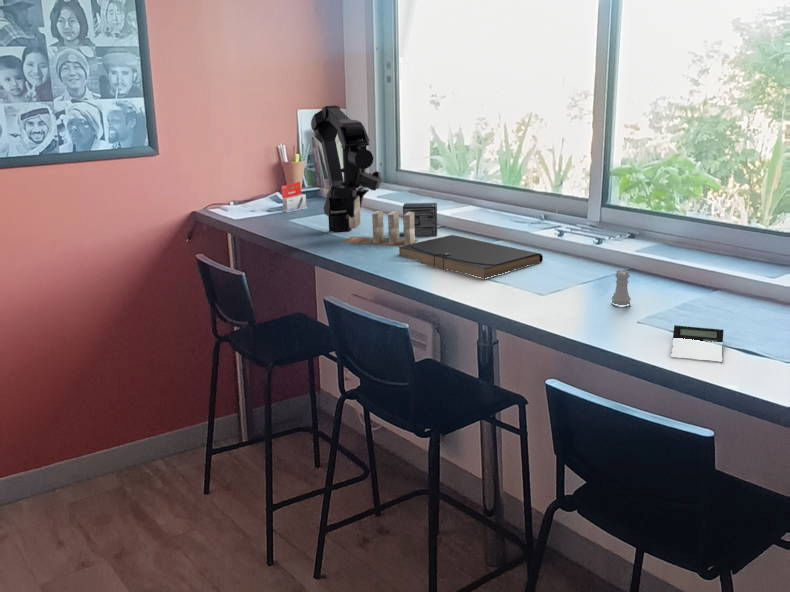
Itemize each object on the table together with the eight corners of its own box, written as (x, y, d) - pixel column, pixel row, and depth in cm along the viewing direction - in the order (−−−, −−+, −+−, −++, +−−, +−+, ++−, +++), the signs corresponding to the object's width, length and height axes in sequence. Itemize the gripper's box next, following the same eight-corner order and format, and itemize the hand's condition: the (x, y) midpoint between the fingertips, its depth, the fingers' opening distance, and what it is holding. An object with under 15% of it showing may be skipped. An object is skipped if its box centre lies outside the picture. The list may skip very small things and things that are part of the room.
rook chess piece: (627, 308, 185) (629, 275, 182) (608, 306, 187) (610, 272, 185) (633, 303, 188) (635, 270, 186) (614, 300, 191) (616, 267, 188)
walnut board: (342, 245, 249) (341, 242, 249) (351, 239, 257) (351, 236, 256) (410, 248, 243) (410, 246, 242) (418, 242, 250) (418, 239, 250)
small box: (438, 234, 260) (437, 202, 256) (437, 239, 253) (436, 206, 250) (405, 234, 261) (404, 202, 258) (403, 239, 254) (402, 206, 251)
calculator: (670, 358, 157) (671, 344, 156) (673, 338, 167) (674, 324, 166) (722, 364, 154) (723, 349, 153) (722, 343, 164) (723, 329, 163)
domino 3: (388, 243, 246) (387, 214, 243) (393, 239, 250) (392, 211, 248) (394, 244, 246) (393, 214, 243) (399, 240, 250) (398, 211, 247)
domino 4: (404, 244, 245) (403, 215, 242) (409, 240, 249) (408, 211, 246) (410, 244, 244) (409, 215, 241) (414, 241, 248) (414, 212, 246)
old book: (397, 245, 232) (456, 232, 247) (397, 259, 233) (456, 246, 248) (483, 266, 208) (543, 251, 224) (483, 282, 209) (542, 265, 225)
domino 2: (373, 242, 248) (372, 213, 245) (378, 239, 252) (377, 210, 249) (378, 243, 247) (377, 214, 244) (383, 239, 251) (383, 210, 249)
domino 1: (360, 225, 252) (359, 196, 250) (355, 228, 248) (353, 199, 245) (355, 224, 253) (354, 196, 250) (349, 228, 249) (348, 199, 246)
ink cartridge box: (306, 207, 308) (305, 181, 305) (287, 213, 299) (285, 186, 296) (301, 207, 309) (300, 181, 306) (282, 212, 300) (280, 186, 297)
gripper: (367, 170, 234) (368, 223, 239) (387, 160, 251) (389, 210, 255) (331, 169, 237) (333, 221, 242) (354, 159, 254) (356, 208, 259)
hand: (354, 215), depth 250 cm, fingers closed on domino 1, 5 cm apart
